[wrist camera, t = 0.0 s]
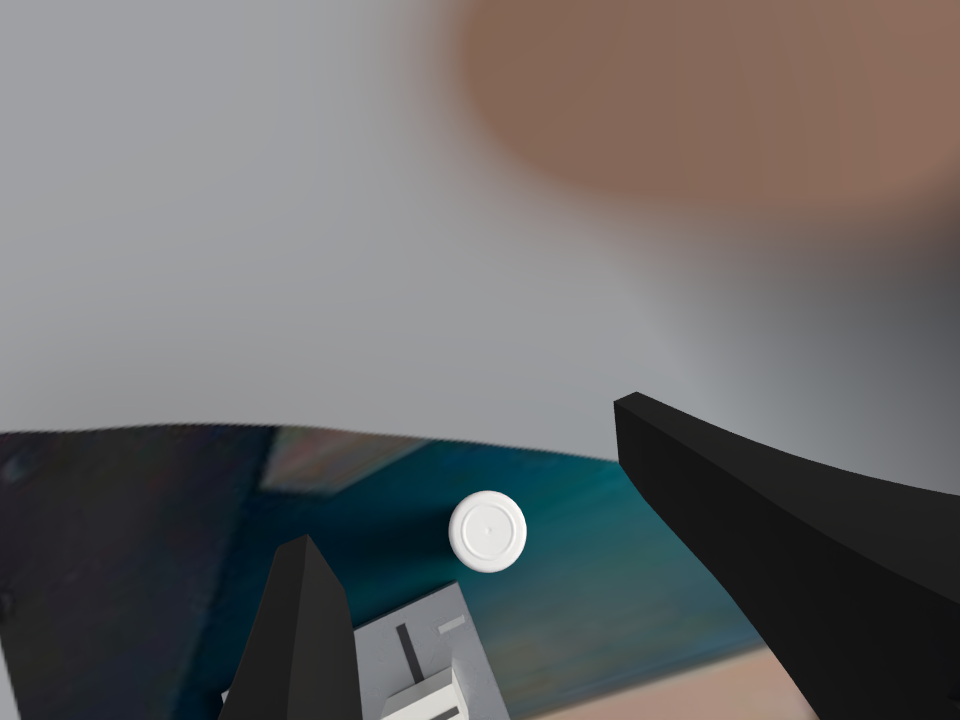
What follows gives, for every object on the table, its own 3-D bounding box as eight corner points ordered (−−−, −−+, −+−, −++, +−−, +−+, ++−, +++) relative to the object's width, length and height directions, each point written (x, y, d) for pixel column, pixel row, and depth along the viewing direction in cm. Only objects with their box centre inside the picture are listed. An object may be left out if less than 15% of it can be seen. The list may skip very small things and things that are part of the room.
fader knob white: (467, 709, 36) (470, 733, 32) (401, 744, 35) (395, 773, 31) (451, 666, 36) (452, 683, 32) (386, 698, 36) (379, 721, 32)
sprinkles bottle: (488, 567, 41) (507, 589, 28) (439, 540, 41) (434, 550, 28) (512, 514, 42) (540, 512, 29) (464, 489, 42) (470, 476, 30)
